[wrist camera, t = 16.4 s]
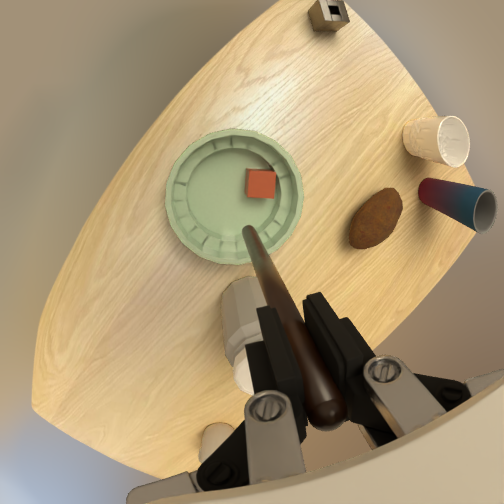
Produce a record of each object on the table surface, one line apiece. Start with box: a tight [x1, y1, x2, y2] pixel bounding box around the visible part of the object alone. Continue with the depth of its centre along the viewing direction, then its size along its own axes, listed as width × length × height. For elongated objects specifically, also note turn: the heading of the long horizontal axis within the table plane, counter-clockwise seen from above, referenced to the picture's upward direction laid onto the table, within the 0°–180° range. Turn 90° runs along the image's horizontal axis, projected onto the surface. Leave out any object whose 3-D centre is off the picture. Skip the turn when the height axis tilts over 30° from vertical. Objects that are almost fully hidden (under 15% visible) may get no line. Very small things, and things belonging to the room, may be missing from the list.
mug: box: [198, 423, 235, 463], centre depth 57 cm, size 13×9×10 cm
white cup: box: [402, 116, 470, 167], centre depth 38 cm, size 8×8×10 cm
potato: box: [349, 188, 403, 249], centre depth 43 cm, size 7×12×7 cm, turn 146°
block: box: [244, 168, 276, 199], centre depth 40 cm, size 4×4×4 cm
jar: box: [221, 276, 267, 396], centre depth 40 cm, size 10×10×18 cm
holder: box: [308, 0, 350, 32], centre depth 31 cm, size 4×4×5 cm
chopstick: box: [242, 225, 348, 431], centre depth 16 cm, size 1×1×20 cm
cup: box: [418, 178, 497, 234], centre depth 39 cm, size 7×7×15 cm
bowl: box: [165, 129, 304, 265], centre depth 39 cm, size 18×18×6 cm
